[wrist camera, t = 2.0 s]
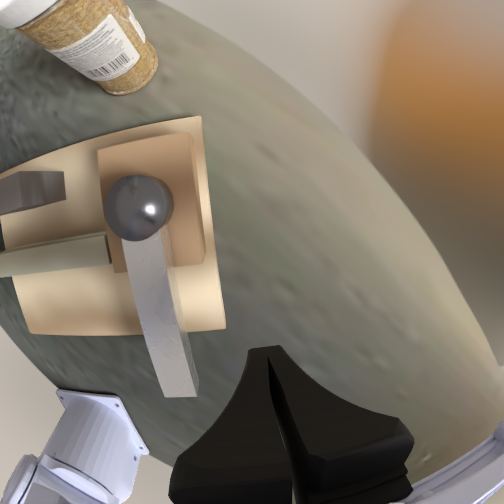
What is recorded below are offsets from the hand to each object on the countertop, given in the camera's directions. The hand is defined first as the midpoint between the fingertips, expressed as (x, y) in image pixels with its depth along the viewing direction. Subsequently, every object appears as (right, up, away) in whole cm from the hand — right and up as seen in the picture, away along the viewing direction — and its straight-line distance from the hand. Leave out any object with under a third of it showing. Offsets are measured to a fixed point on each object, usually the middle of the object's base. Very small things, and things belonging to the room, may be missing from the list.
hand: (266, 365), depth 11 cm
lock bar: (-6, +3, +3) cm, 7 cm away
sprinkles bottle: (-9, +18, +4) cm, 20 cm away
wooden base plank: (-12, +6, +6) cm, 15 cm away
